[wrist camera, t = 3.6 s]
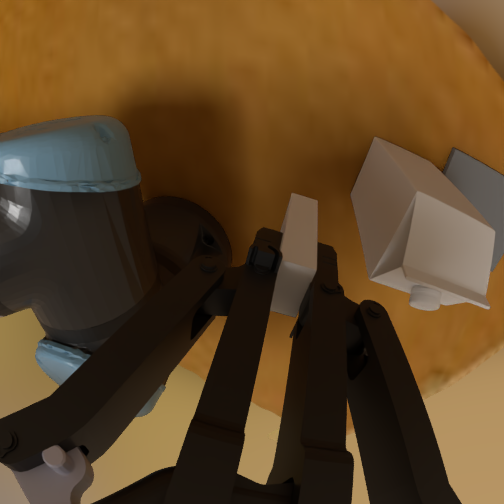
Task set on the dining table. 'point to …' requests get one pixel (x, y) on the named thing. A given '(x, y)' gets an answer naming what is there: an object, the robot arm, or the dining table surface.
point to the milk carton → (420, 230)
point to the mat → (480, 193)
